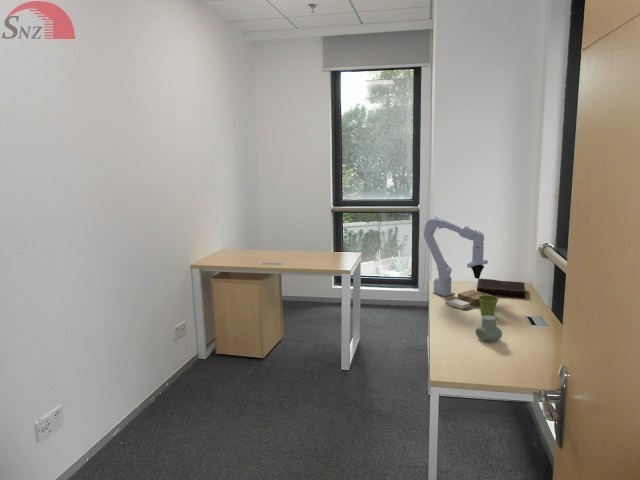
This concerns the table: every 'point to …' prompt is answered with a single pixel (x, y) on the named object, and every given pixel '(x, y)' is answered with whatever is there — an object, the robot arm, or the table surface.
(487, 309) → the plant pot
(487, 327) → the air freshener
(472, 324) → the table surface
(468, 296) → the brown shallow square box
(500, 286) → the diary
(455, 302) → the off-white rectangular block
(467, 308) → the mat
